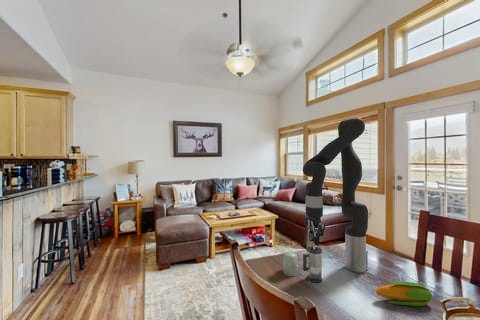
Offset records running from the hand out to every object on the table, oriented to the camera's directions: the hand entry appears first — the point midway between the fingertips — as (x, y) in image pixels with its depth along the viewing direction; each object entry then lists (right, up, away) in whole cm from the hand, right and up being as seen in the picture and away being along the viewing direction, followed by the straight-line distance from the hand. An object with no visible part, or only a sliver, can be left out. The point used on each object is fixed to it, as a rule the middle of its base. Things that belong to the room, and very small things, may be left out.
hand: (314, 242), depth 101 cm
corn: (+29, -17, -16) cm, 37 cm away
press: (0, -17, 0) cm, 17 cm away
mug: (-10, -17, +6) cm, 20 cm away
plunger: (0, -9, 0) cm, 9 cm away
